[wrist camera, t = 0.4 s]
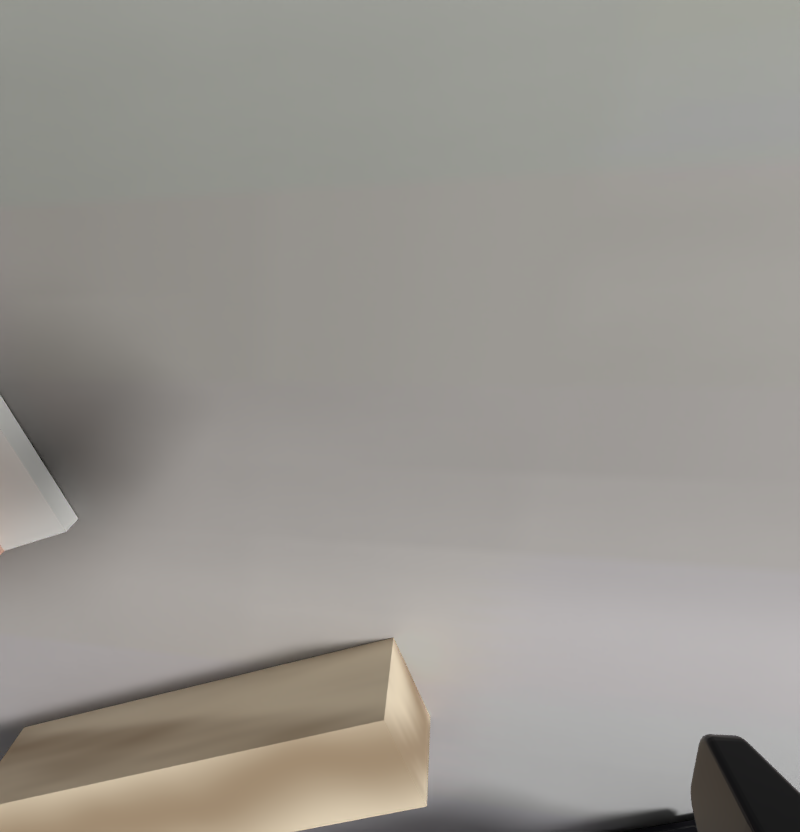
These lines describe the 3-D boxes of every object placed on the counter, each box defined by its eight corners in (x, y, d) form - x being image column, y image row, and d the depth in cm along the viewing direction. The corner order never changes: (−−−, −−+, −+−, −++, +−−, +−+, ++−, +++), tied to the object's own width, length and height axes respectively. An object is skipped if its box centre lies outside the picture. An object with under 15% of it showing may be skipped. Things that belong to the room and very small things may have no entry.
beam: (430, 711, 27) (426, 806, 23) (77, 788, 30) (25, 882, 26) (393, 631, 25) (384, 720, 22) (27, 721, 29) (-35, 811, 25)
